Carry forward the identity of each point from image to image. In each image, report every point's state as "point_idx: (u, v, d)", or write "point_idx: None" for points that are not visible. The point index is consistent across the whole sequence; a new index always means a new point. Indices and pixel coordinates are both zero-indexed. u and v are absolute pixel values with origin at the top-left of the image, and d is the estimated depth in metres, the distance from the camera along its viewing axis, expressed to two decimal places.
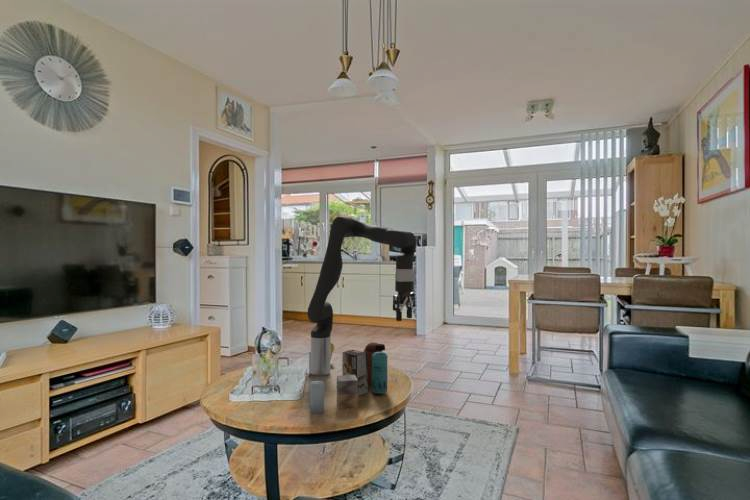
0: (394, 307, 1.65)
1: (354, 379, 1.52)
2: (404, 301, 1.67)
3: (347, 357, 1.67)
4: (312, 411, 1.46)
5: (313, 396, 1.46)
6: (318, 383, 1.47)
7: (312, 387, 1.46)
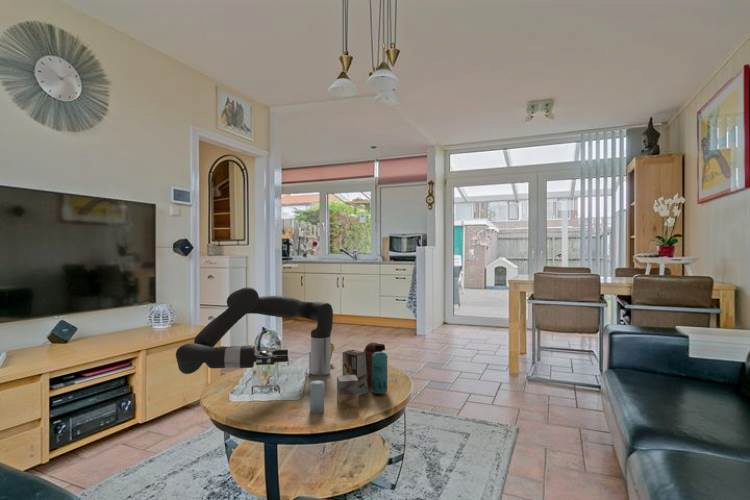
0: None
1: (355, 379, 1.52)
2: None
3: (347, 357, 1.67)
4: (312, 411, 1.46)
5: (313, 397, 1.46)
6: (318, 383, 1.47)
7: (312, 387, 1.46)
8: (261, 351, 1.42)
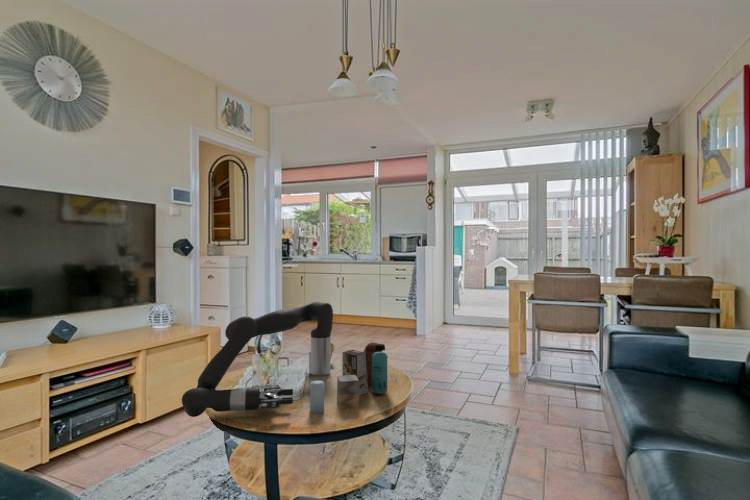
0: (277, 388, 1.52)
1: (355, 379, 1.52)
2: None
3: (347, 357, 1.67)
4: (312, 411, 1.46)
5: (313, 396, 1.46)
6: (318, 383, 1.47)
7: (312, 387, 1.46)
8: (266, 393, 1.43)
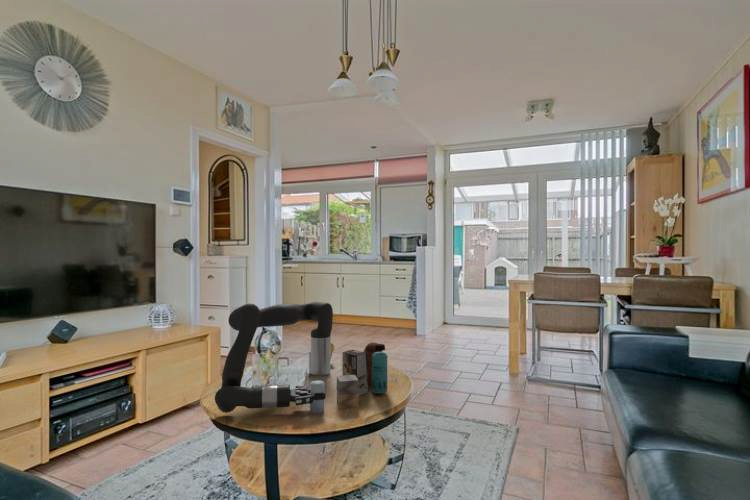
0: None
1: (355, 379, 1.52)
2: None
3: (347, 357, 1.67)
4: (312, 411, 1.46)
5: None
6: (318, 383, 1.47)
7: (312, 387, 1.46)
8: (297, 390, 1.45)
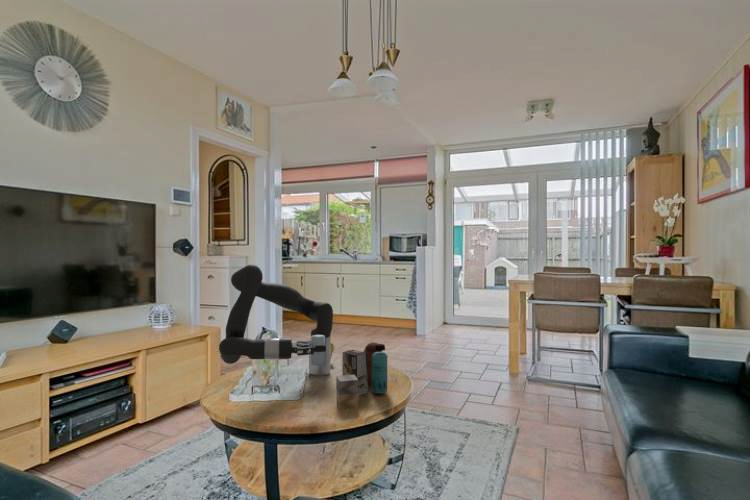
0: None
1: (354, 379, 1.53)
2: None
3: (347, 357, 1.67)
4: (313, 363, 1.50)
5: None
6: (319, 336, 1.51)
7: (313, 340, 1.50)
8: (298, 343, 1.50)
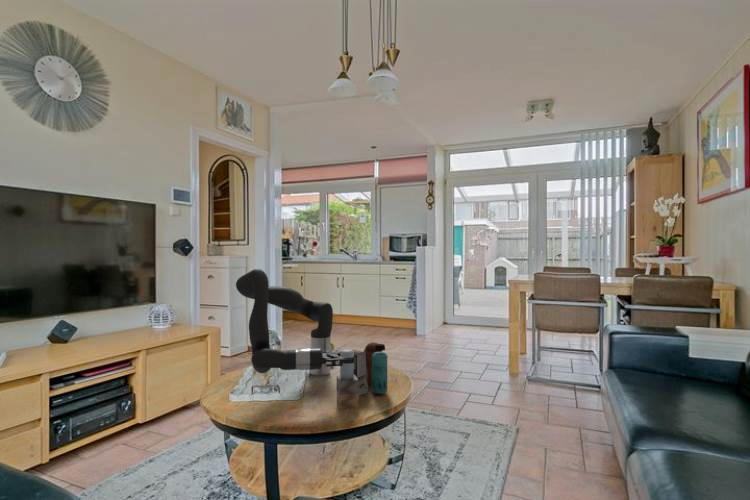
0: None
1: (355, 379, 1.53)
2: None
3: None
4: (342, 378, 1.52)
5: (343, 364, 1.52)
6: (348, 351, 1.53)
7: (342, 355, 1.52)
8: (328, 353, 1.52)
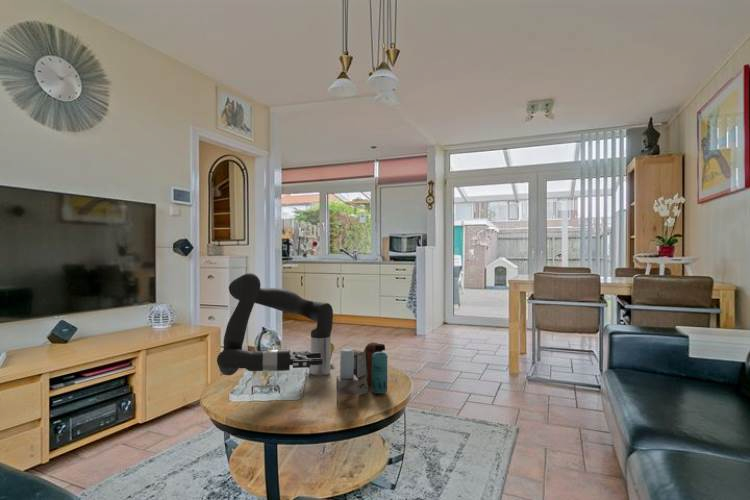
0: (305, 352, 1.58)
1: (355, 379, 1.53)
2: None
3: None
4: (342, 377, 1.52)
5: (343, 363, 1.52)
6: (348, 350, 1.54)
7: (342, 354, 1.53)
8: (296, 354, 1.49)
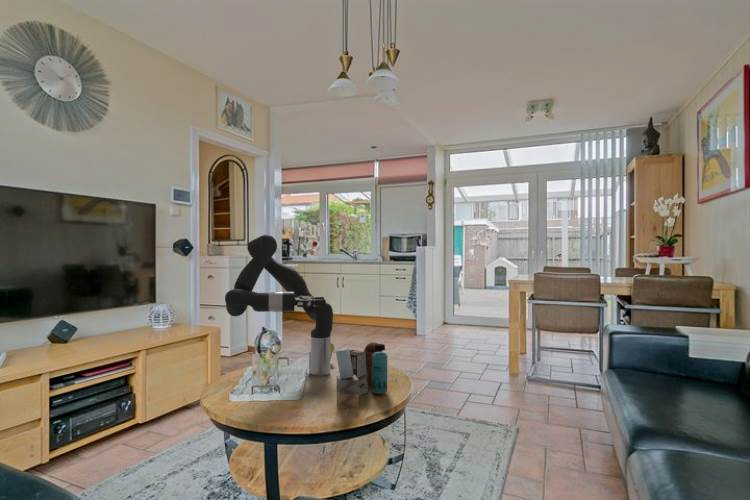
0: (309, 297, 1.64)
1: (355, 379, 1.53)
2: None
3: None
4: (341, 377, 1.53)
5: (339, 363, 1.53)
6: (342, 350, 1.54)
7: (337, 354, 1.53)
8: (301, 296, 1.55)
